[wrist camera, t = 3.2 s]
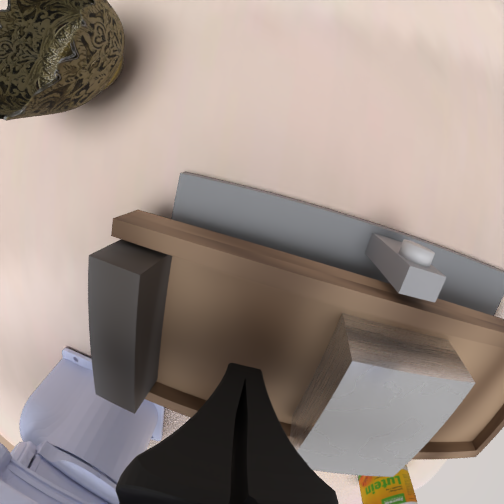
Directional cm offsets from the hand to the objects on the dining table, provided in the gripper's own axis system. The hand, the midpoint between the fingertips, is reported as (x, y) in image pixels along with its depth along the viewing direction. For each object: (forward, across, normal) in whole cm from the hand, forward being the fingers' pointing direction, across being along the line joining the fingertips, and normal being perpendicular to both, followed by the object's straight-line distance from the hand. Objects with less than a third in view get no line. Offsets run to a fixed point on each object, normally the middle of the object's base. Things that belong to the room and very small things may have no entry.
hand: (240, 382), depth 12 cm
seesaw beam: (+2, -6, 0) cm, 6 cm away
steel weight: (+2, -6, 0) cm, 7 cm away
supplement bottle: (+7, -18, +17) cm, 26 cm away
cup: (+7, +12, -12) cm, 19 cm away
